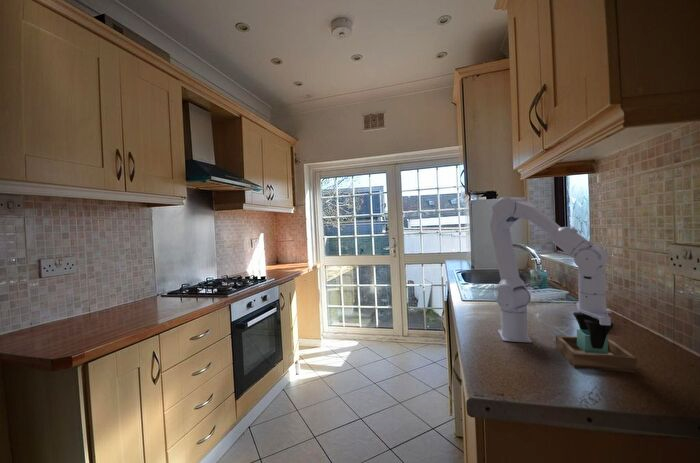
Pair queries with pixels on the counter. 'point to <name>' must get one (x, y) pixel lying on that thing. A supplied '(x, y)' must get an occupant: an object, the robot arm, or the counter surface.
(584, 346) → the small crate
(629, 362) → the big crate
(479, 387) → the counter surface
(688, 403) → the counter surface
